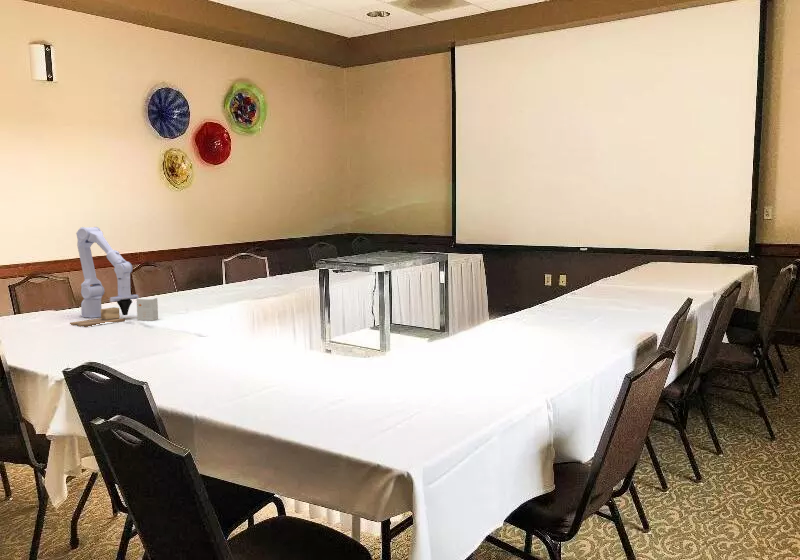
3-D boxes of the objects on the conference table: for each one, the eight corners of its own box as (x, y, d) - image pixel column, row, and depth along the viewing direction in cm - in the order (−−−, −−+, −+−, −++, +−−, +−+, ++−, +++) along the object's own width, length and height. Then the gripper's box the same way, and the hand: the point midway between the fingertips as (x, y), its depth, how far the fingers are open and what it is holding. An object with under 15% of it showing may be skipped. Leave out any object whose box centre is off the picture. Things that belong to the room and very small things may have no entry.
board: (69, 324, 300) (69, 322, 300) (109, 318, 317) (108, 316, 317) (85, 327, 294) (85, 325, 293) (124, 321, 311) (124, 319, 310)
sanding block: (101, 319, 309) (100, 309, 308) (114, 317, 315) (113, 307, 314) (106, 320, 307) (106, 309, 306) (119, 318, 313) (119, 308, 312)
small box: (158, 319, 318) (157, 297, 317) (152, 320, 313) (152, 299, 311) (142, 318, 319) (142, 297, 318) (137, 320, 313) (136, 298, 312)
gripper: (115, 289, 308) (116, 317, 309) (142, 286, 320) (143, 313, 321) (106, 288, 311) (107, 316, 313) (132, 285, 324) (133, 312, 325)
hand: (124, 314), depth 317 cm, fingers closed
